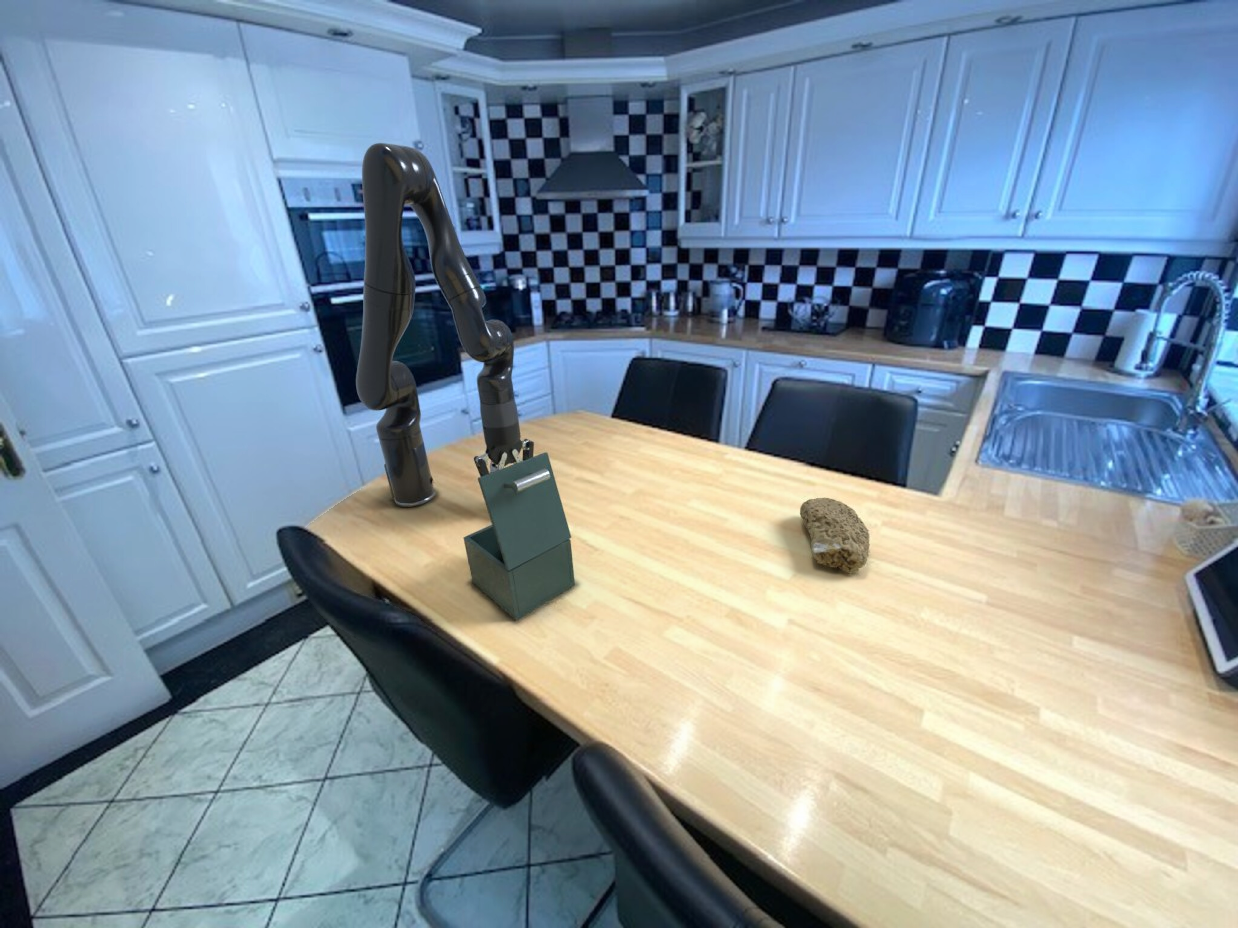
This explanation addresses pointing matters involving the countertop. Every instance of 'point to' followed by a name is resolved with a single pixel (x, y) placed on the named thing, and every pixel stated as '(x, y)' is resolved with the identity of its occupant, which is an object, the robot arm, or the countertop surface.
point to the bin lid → (525, 509)
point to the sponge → (836, 534)
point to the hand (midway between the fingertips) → (510, 490)
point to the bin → (518, 573)
